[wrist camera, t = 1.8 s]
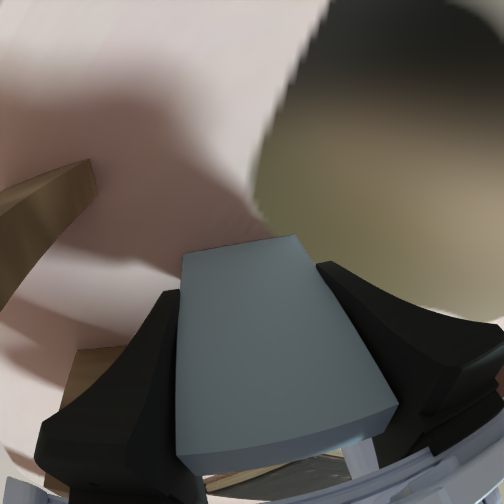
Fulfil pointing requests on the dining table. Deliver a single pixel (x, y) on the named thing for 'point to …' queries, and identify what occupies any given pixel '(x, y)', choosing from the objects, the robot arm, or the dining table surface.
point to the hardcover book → (284, 479)
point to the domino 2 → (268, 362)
